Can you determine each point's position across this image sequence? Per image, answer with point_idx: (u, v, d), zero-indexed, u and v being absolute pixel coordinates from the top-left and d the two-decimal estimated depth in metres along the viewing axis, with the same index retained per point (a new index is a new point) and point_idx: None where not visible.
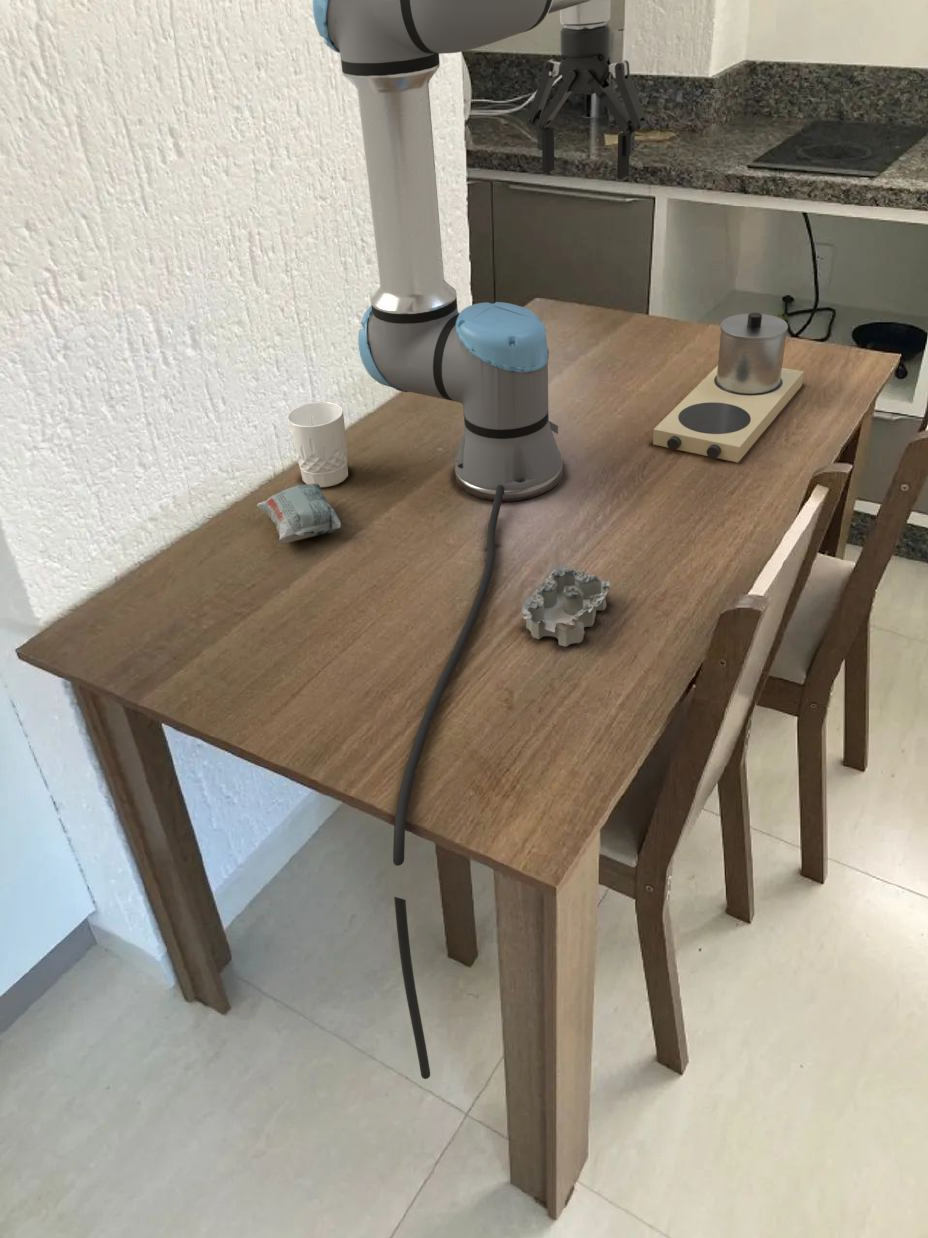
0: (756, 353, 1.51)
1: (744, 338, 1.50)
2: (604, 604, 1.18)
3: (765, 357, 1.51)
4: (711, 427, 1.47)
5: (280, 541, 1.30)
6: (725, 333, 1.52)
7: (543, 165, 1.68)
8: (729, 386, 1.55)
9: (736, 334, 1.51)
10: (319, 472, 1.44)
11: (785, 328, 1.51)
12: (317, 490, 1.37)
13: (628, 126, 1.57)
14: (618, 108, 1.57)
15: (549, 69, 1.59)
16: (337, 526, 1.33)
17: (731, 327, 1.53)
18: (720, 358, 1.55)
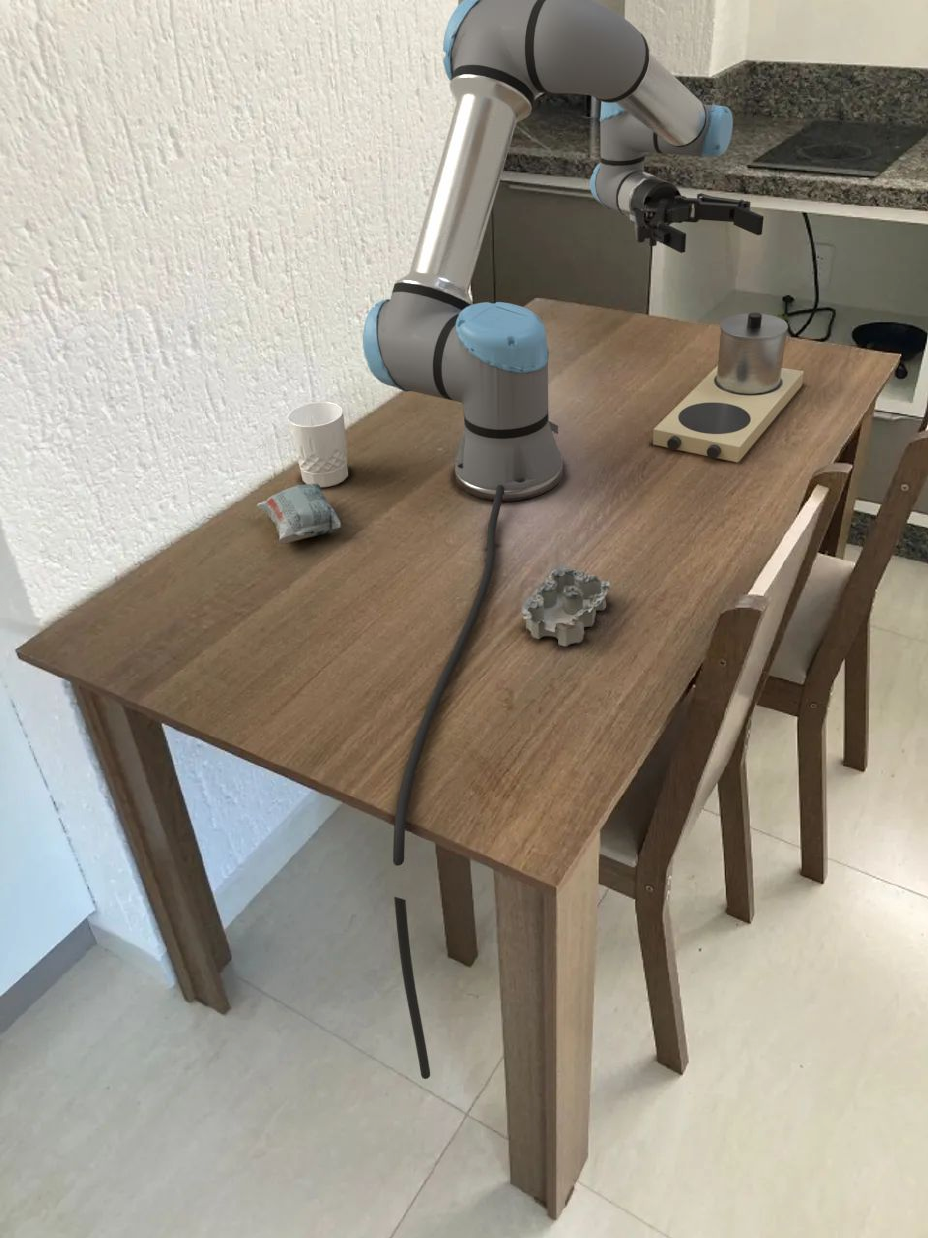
0: (756, 353, 1.51)
1: (744, 338, 1.50)
2: (604, 604, 1.18)
3: (765, 357, 1.51)
4: (711, 427, 1.47)
5: (280, 541, 1.30)
6: (725, 333, 1.52)
7: (678, 231, 1.52)
8: (729, 386, 1.55)
9: (736, 334, 1.51)
10: (319, 472, 1.44)
11: (785, 328, 1.51)
12: (317, 490, 1.37)
13: None
14: None
15: (638, 209, 1.63)
16: (337, 526, 1.33)
17: (731, 327, 1.53)
18: (720, 358, 1.55)
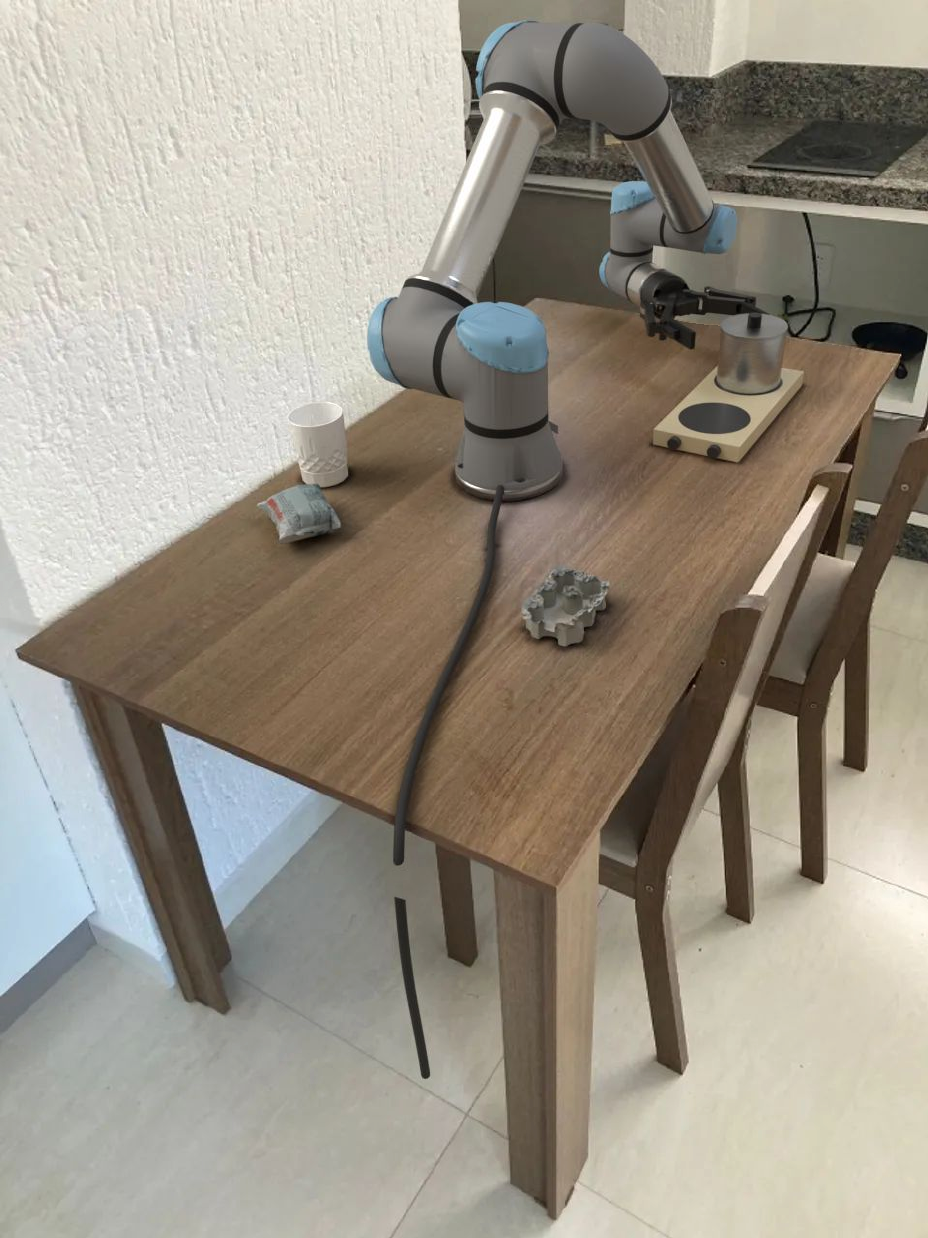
0: (756, 353, 1.51)
1: (744, 338, 1.50)
2: (604, 604, 1.18)
3: (765, 357, 1.51)
4: (711, 427, 1.47)
5: (280, 541, 1.30)
6: (725, 333, 1.52)
7: (688, 329, 1.57)
8: (729, 386, 1.55)
9: (736, 334, 1.51)
10: (319, 472, 1.44)
11: (785, 328, 1.51)
12: (317, 490, 1.37)
13: (745, 300, 1.66)
14: None
15: (648, 303, 1.68)
16: (337, 526, 1.33)
17: (731, 327, 1.53)
18: (720, 358, 1.55)
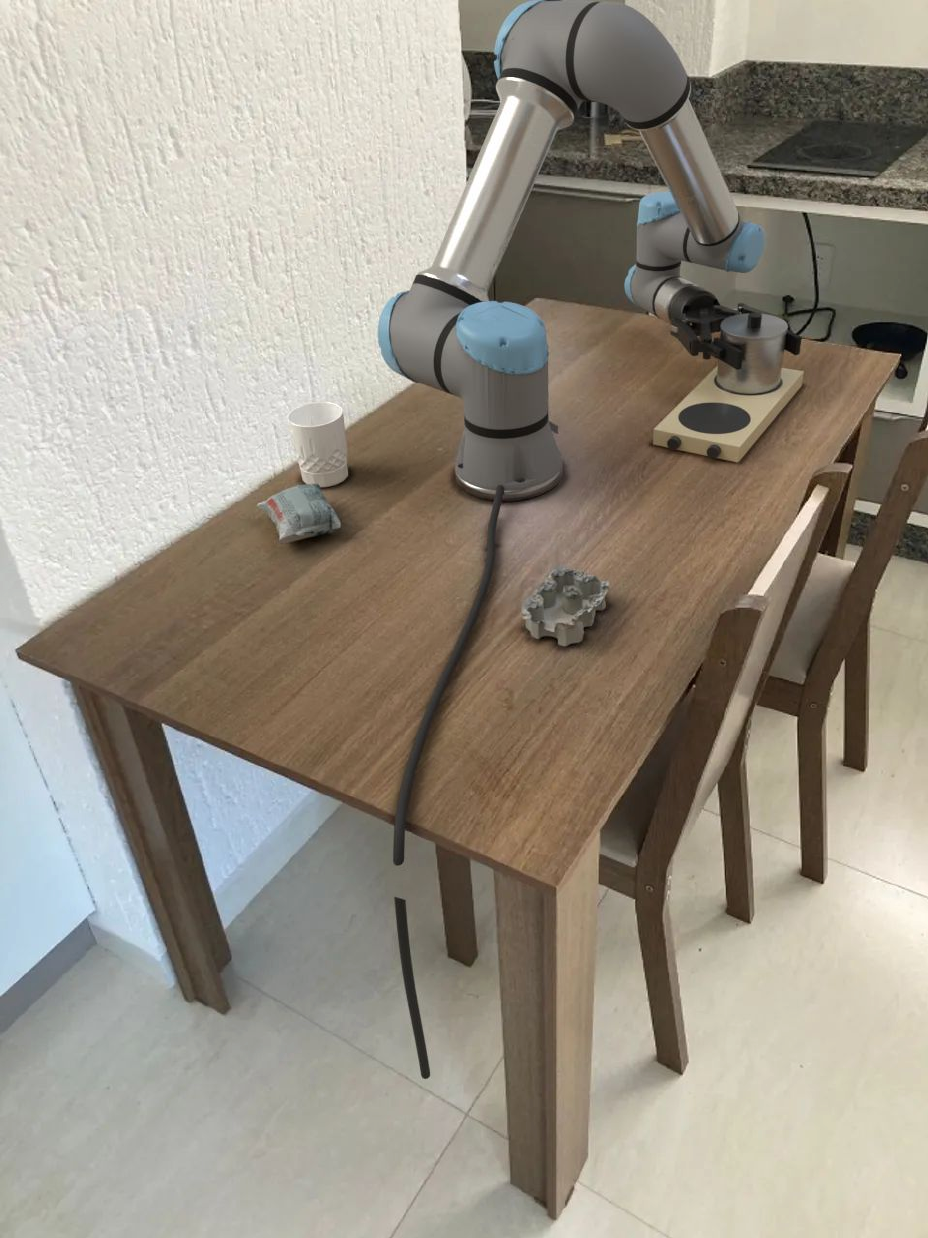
0: (756, 353, 1.51)
1: (744, 338, 1.50)
2: (604, 604, 1.18)
3: (765, 357, 1.51)
4: (711, 427, 1.47)
5: (280, 541, 1.30)
6: (725, 333, 1.52)
7: (735, 349, 1.50)
8: (729, 386, 1.55)
9: (736, 334, 1.51)
10: (319, 472, 1.44)
11: (785, 328, 1.51)
12: (317, 490, 1.37)
13: None
14: None
15: (680, 320, 1.61)
16: (337, 526, 1.33)
17: (731, 327, 1.53)
18: None
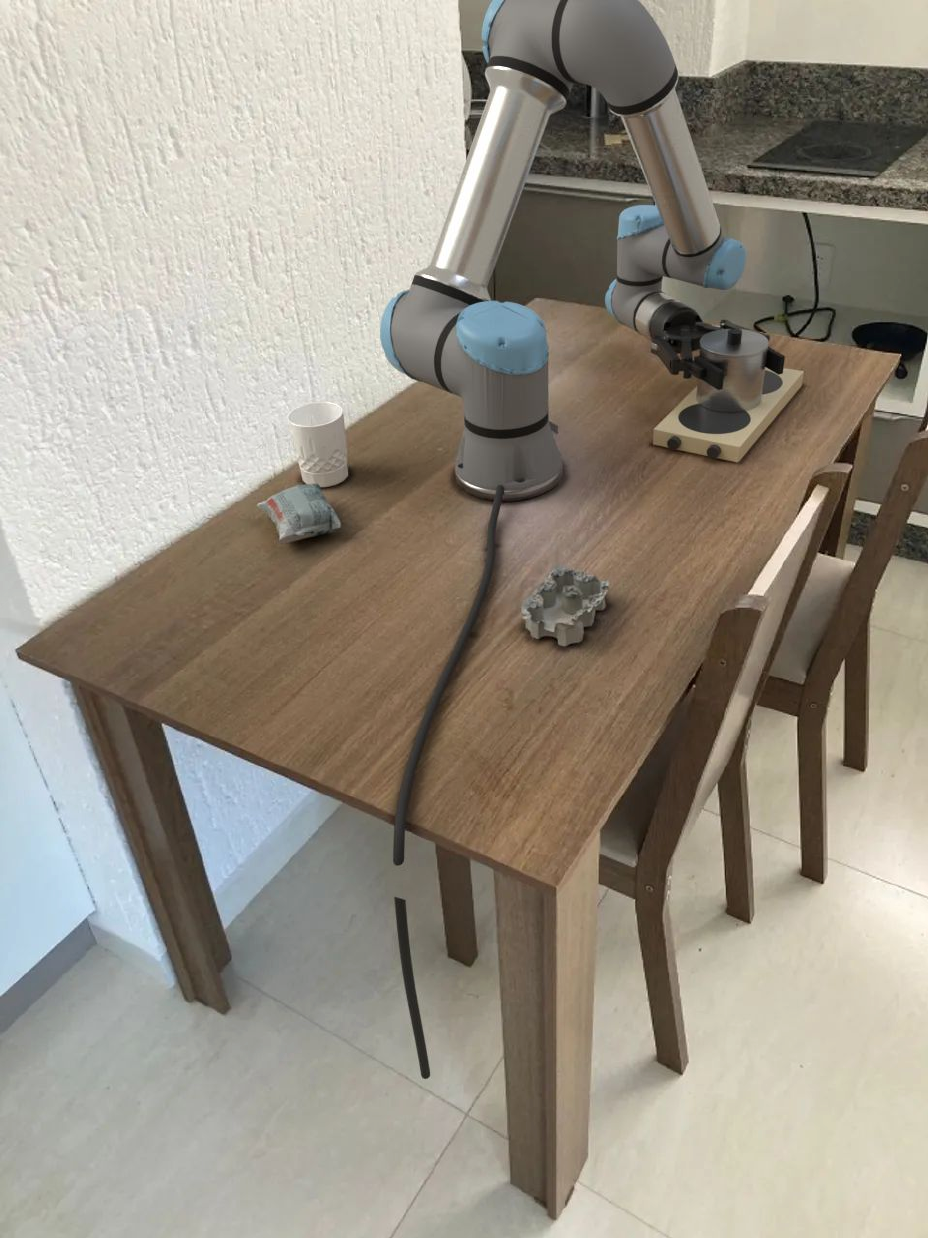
0: (733, 371, 1.46)
1: (721, 355, 1.45)
2: (603, 603, 1.18)
3: (743, 375, 1.47)
4: (711, 427, 1.47)
5: (280, 541, 1.30)
6: (703, 349, 1.48)
7: (716, 368, 1.45)
8: (707, 404, 1.51)
9: (713, 350, 1.46)
10: (319, 472, 1.44)
11: (765, 346, 1.46)
12: (317, 490, 1.37)
13: None
14: None
15: (660, 338, 1.56)
16: (337, 526, 1.33)
17: (710, 343, 1.48)
18: None
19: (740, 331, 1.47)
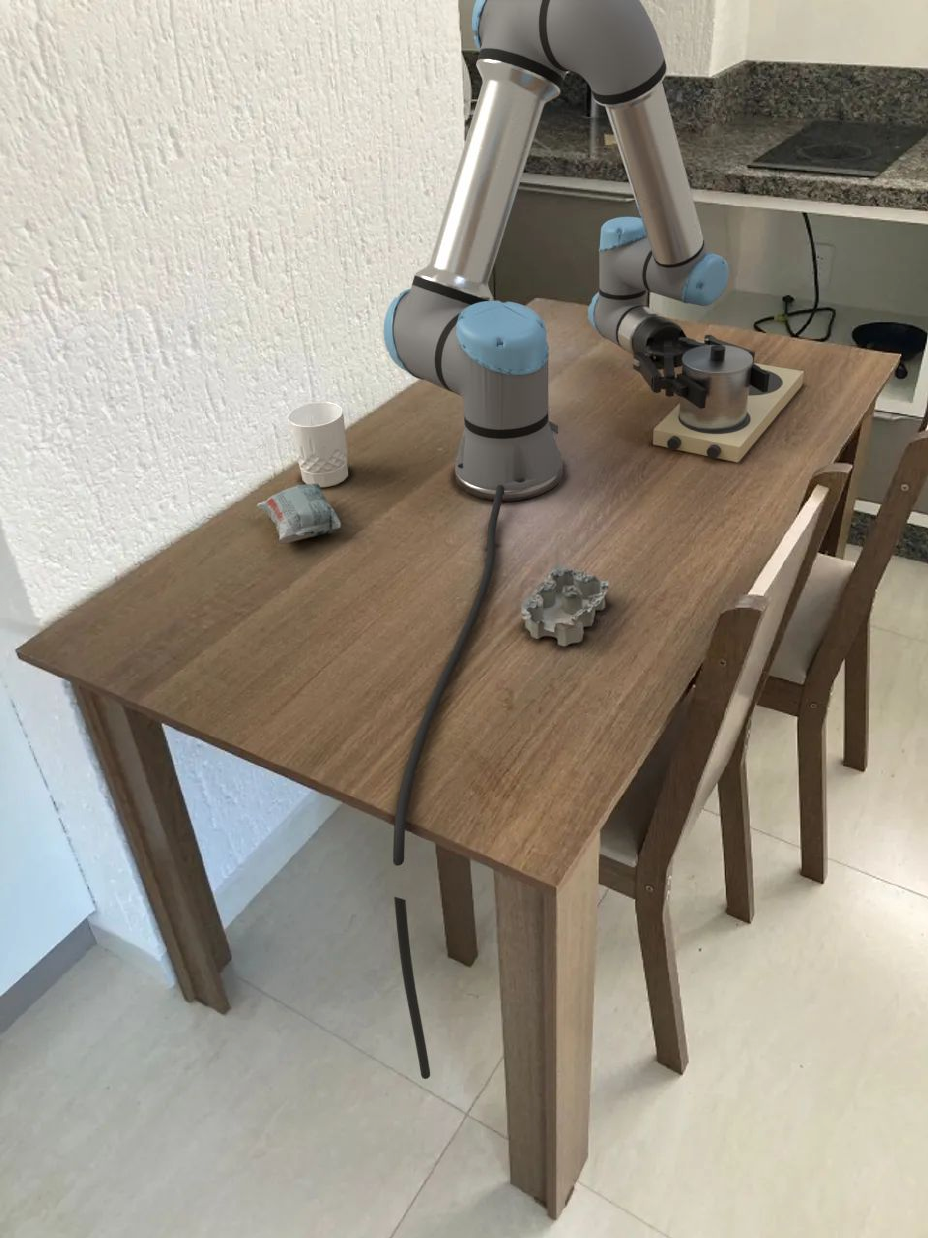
0: (716, 389, 1.42)
1: (703, 372, 1.41)
2: (603, 603, 1.18)
3: (726, 393, 1.42)
4: None
5: (280, 541, 1.30)
6: (685, 366, 1.43)
7: (698, 387, 1.41)
8: (690, 422, 1.47)
9: (696, 368, 1.42)
10: (319, 472, 1.44)
11: (749, 363, 1.42)
12: (317, 490, 1.37)
13: None
14: None
15: (642, 354, 1.52)
16: (337, 526, 1.33)
17: (692, 360, 1.44)
18: None
19: (723, 348, 1.43)
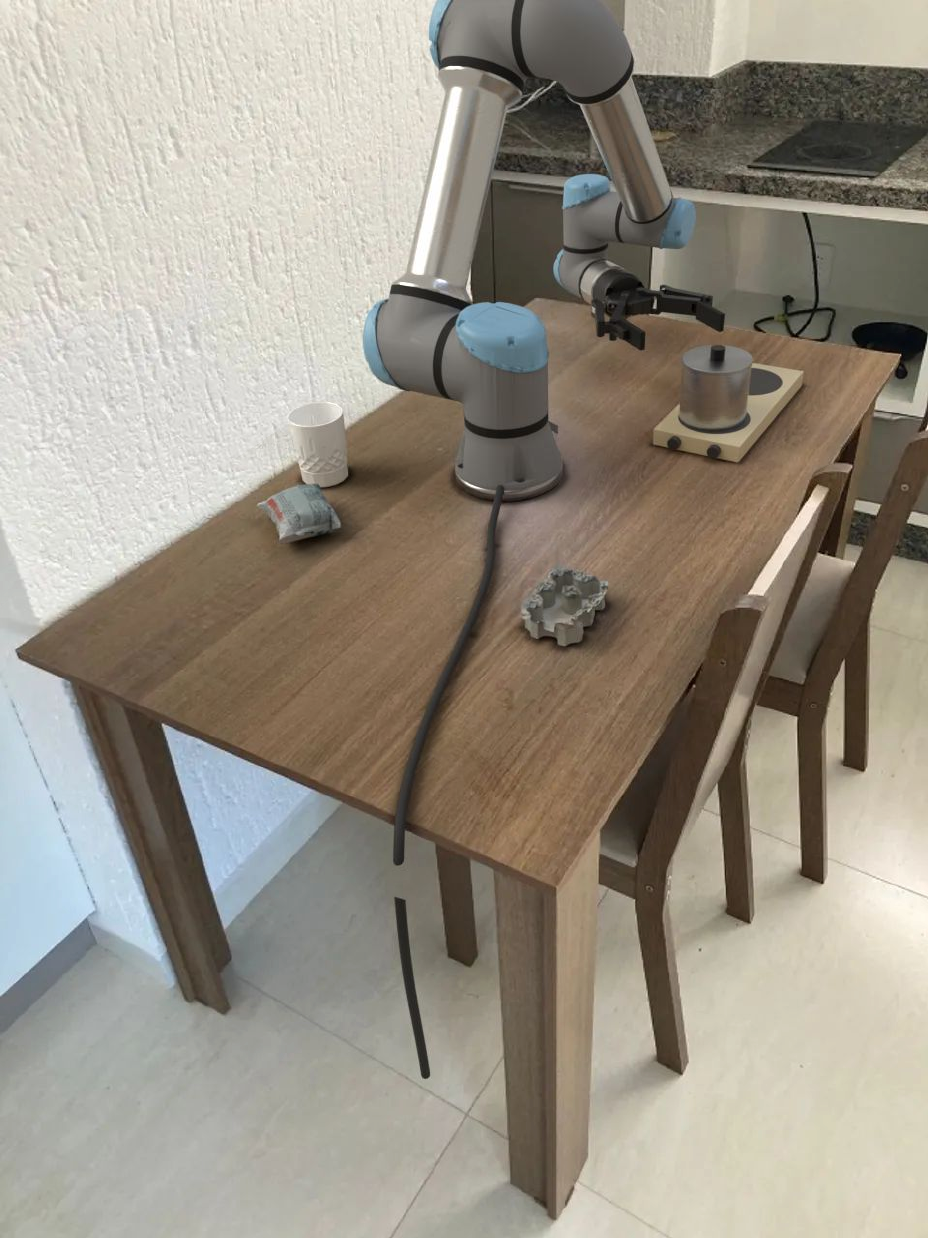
0: (716, 389, 1.42)
1: (703, 372, 1.41)
2: (603, 603, 1.18)
3: (726, 393, 1.42)
4: None
5: (280, 541, 1.30)
6: (685, 366, 1.43)
7: (638, 329, 1.49)
8: (690, 422, 1.47)
9: (696, 368, 1.42)
10: (319, 472, 1.44)
11: (749, 363, 1.42)
12: (317, 490, 1.37)
13: (701, 299, 1.58)
14: None
15: (599, 301, 1.60)
16: (337, 526, 1.33)
17: (692, 360, 1.44)
18: (681, 391, 1.47)
19: (723, 348, 1.43)
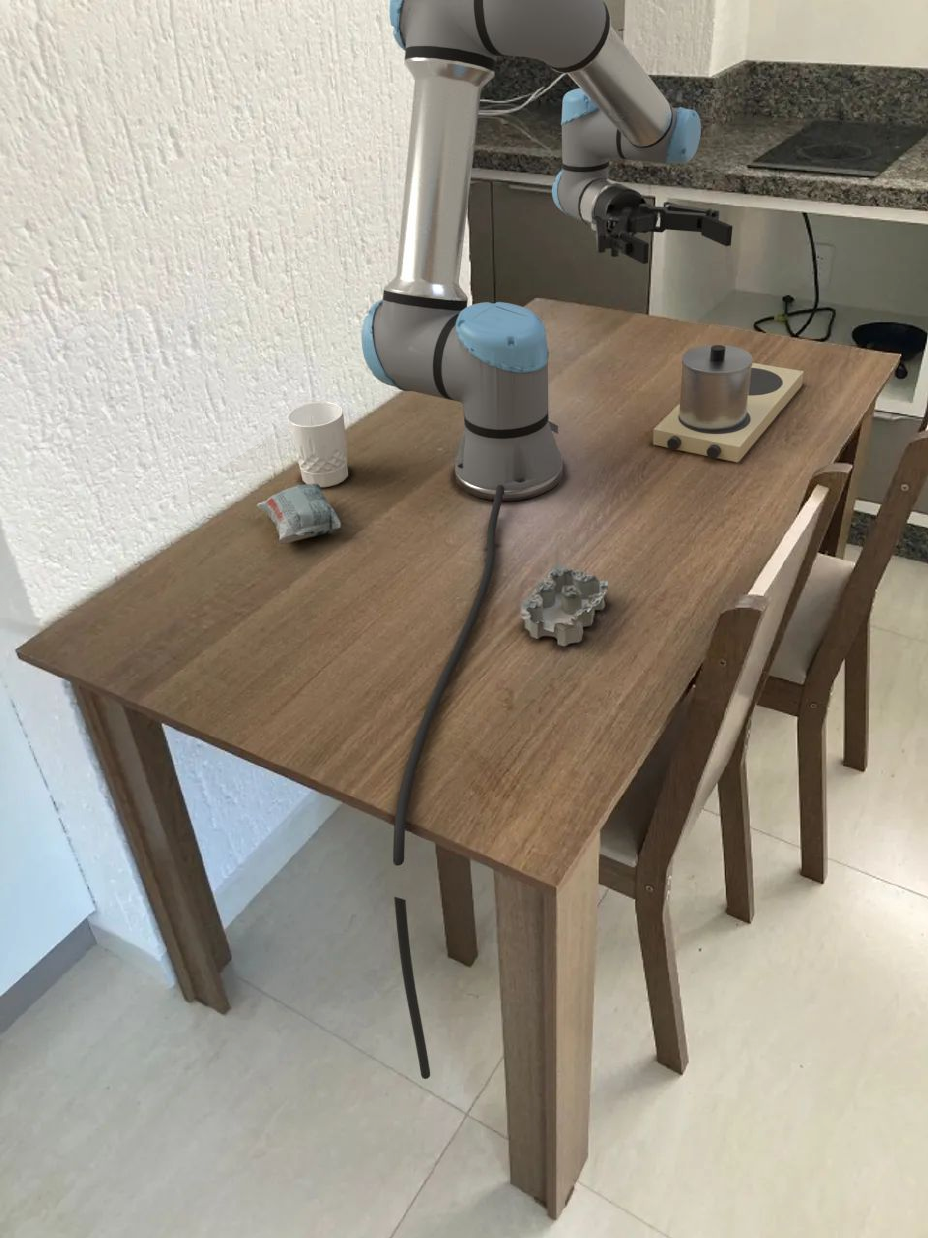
0: (716, 389, 1.42)
1: (703, 372, 1.41)
2: (603, 603, 1.18)
3: (726, 393, 1.42)
4: None
5: (280, 541, 1.30)
6: (685, 366, 1.43)
7: (641, 241, 1.41)
8: (690, 422, 1.47)
9: (696, 368, 1.42)
10: (319, 472, 1.44)
11: (749, 363, 1.42)
12: (317, 490, 1.37)
13: None
14: None
15: (600, 218, 1.52)
16: (337, 526, 1.33)
17: (692, 360, 1.44)
18: (681, 391, 1.47)
19: (723, 348, 1.43)
